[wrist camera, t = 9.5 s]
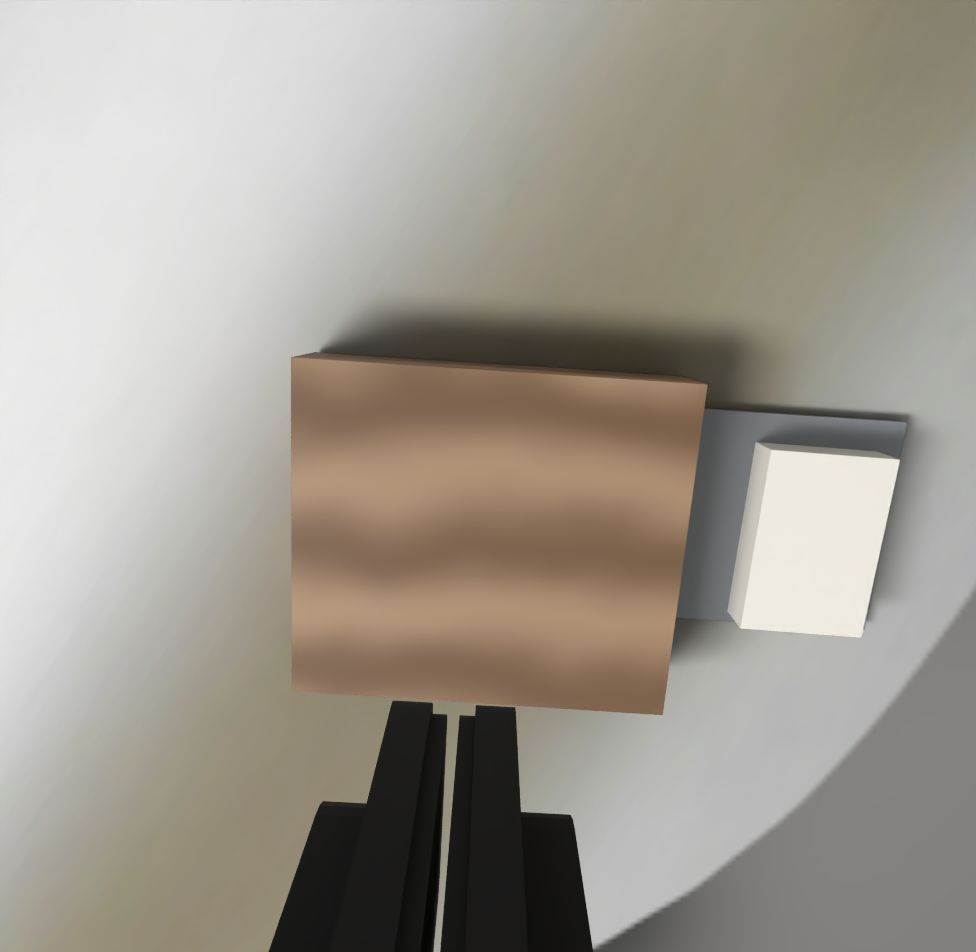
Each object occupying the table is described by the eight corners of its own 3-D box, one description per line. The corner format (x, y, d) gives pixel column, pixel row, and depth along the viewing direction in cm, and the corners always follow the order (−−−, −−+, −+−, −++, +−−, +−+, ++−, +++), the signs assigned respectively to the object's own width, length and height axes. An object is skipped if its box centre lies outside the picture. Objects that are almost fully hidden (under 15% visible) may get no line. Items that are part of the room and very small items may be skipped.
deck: (315, 352, 34) (291, 357, 30) (683, 376, 34) (707, 384, 30) (313, 651, 37) (292, 690, 33) (645, 673, 37) (662, 715, 33)
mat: (683, 406, 34) (685, 408, 34) (902, 421, 34) (906, 422, 34) (657, 613, 36) (658, 616, 36) (860, 626, 36) (864, 630, 36)
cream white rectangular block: (900, 459, 32) (877, 451, 34) (771, 449, 32) (755, 442, 34) (861, 637, 34) (841, 619, 36) (740, 628, 34) (727, 611, 36)
